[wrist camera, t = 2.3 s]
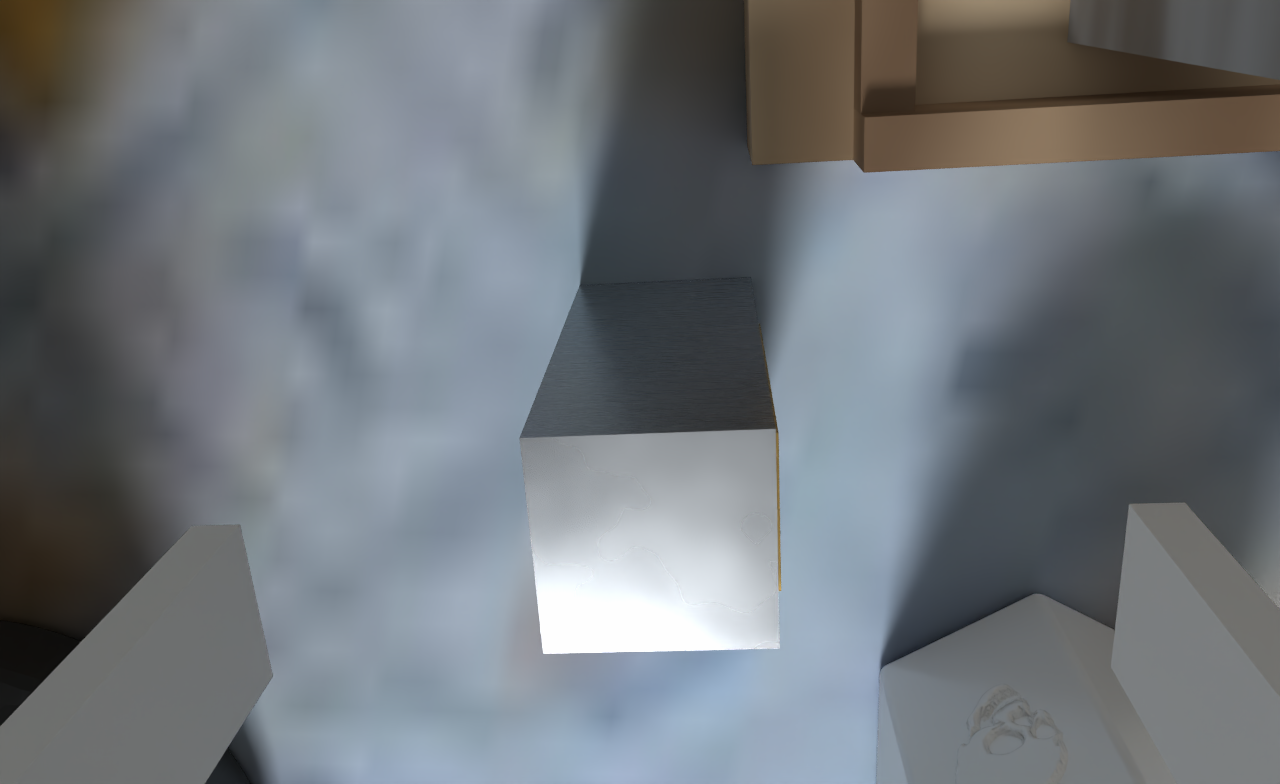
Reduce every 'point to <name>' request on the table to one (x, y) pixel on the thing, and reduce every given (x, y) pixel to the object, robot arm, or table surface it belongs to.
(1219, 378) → the table surface
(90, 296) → the table surface
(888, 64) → the light wooden long frame
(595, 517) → the grey rectangular prism
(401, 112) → the table surface
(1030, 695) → the jar
